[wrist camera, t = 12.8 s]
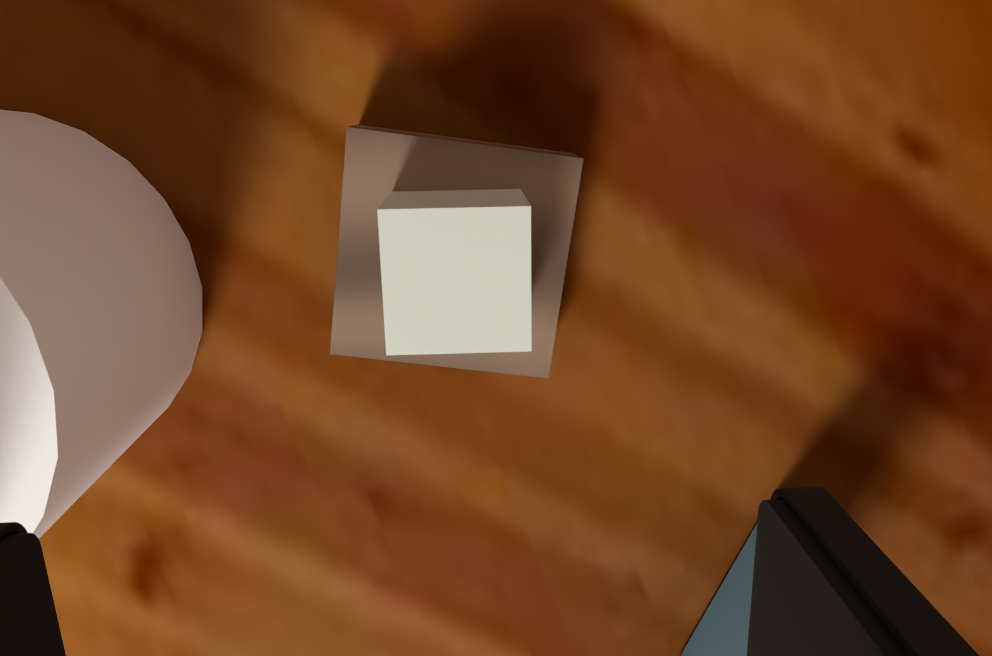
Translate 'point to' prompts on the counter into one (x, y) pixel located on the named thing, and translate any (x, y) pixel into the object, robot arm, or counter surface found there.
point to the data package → (728, 611)
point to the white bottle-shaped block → (82, 313)
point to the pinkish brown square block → (448, 166)
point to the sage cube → (456, 271)
